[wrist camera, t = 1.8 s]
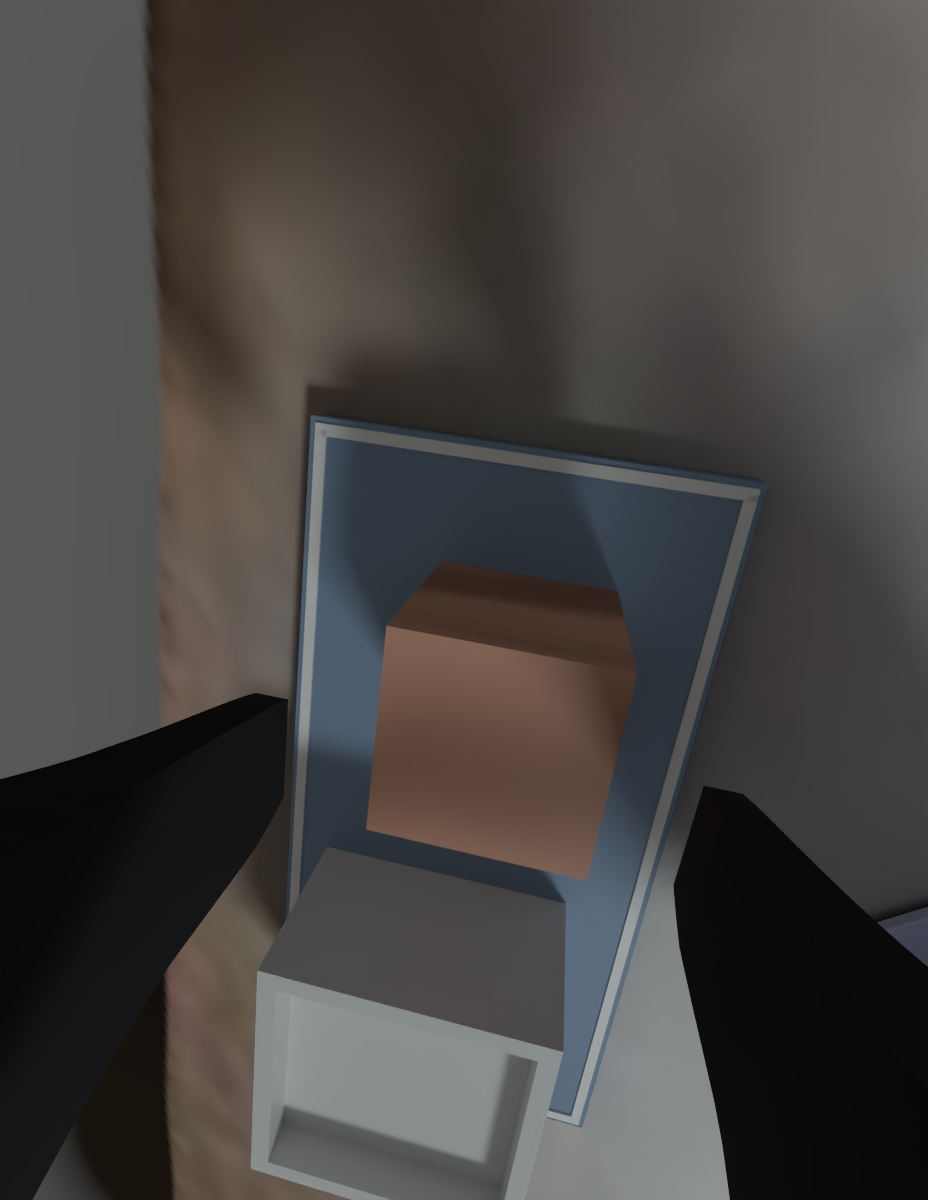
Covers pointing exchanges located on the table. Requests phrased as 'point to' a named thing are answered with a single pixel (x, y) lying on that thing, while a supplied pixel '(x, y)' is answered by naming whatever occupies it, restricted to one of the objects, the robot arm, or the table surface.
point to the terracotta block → (501, 717)
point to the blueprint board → (538, 549)
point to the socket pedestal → (407, 1034)
